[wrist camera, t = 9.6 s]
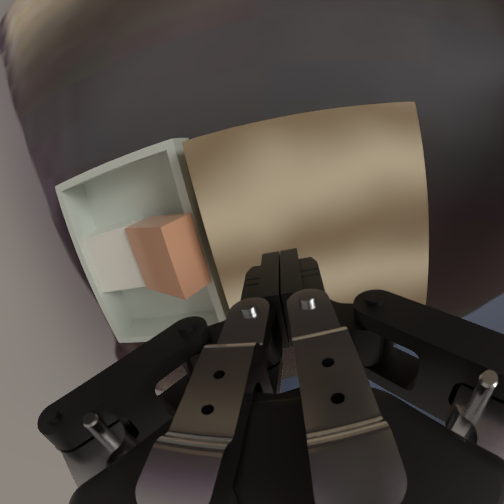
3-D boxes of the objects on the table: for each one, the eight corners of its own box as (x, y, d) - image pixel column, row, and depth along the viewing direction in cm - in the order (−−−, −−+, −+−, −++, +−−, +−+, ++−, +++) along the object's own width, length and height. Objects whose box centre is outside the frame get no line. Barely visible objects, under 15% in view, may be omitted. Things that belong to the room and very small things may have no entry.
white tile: (128, 225, 20) (142, 216, 22) (81, 239, 21) (96, 229, 23) (150, 285, 22) (161, 271, 24) (103, 292, 23) (116, 279, 25)
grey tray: (79, 178, 22) (54, 186, 19) (188, 137, 20) (172, 138, 17) (133, 322, 27) (119, 342, 24) (236, 310, 25) (231, 334, 22)
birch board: (202, 140, 20) (181, 141, 16) (386, 107, 18) (414, 101, 13) (246, 303, 25) (239, 340, 21) (403, 275, 23) (425, 305, 18)
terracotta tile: (151, 216, 22) (124, 228, 20) (190, 213, 18) (160, 227, 17) (170, 273, 23) (146, 288, 22) (211, 281, 20) (185, 299, 18)
